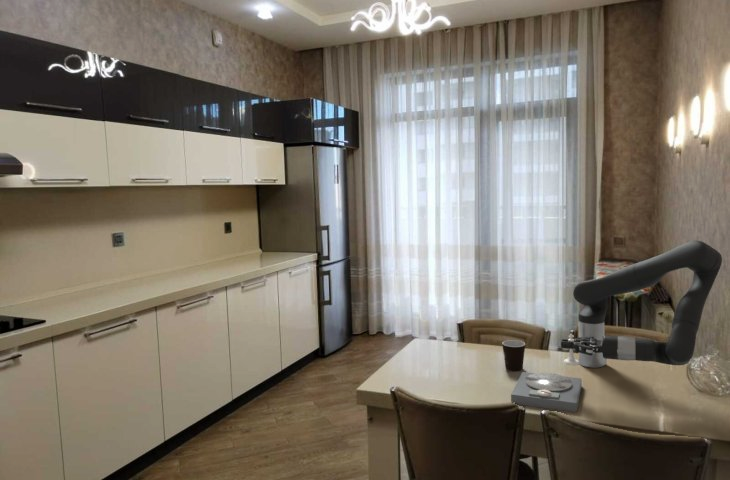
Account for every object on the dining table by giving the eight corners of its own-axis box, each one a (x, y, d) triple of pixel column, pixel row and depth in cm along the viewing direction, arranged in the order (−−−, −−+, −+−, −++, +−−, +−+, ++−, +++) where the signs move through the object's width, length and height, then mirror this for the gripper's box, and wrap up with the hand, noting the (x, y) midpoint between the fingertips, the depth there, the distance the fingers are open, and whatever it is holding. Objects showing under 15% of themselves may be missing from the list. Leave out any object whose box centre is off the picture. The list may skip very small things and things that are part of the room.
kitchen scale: (522, 379, 189) (522, 368, 188) (581, 386, 180) (581, 375, 180) (511, 403, 169) (511, 391, 169) (576, 412, 160) (576, 399, 160)
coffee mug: (522, 373, 195) (521, 348, 194) (499, 370, 199) (499, 345, 198) (530, 364, 205) (529, 339, 204) (508, 361, 209) (508, 337, 208)
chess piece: (561, 361, 174) (560, 332, 173) (574, 360, 175) (574, 331, 174) (568, 366, 169) (567, 336, 168) (582, 364, 170) (582, 335, 169)
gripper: (618, 330, 171) (563, 327, 179) (619, 342, 159) (559, 338, 166) (618, 352, 172) (563, 348, 179) (619, 366, 159) (559, 360, 167)
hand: (561, 343), depth 173 cm, fingers closed on chess piece
